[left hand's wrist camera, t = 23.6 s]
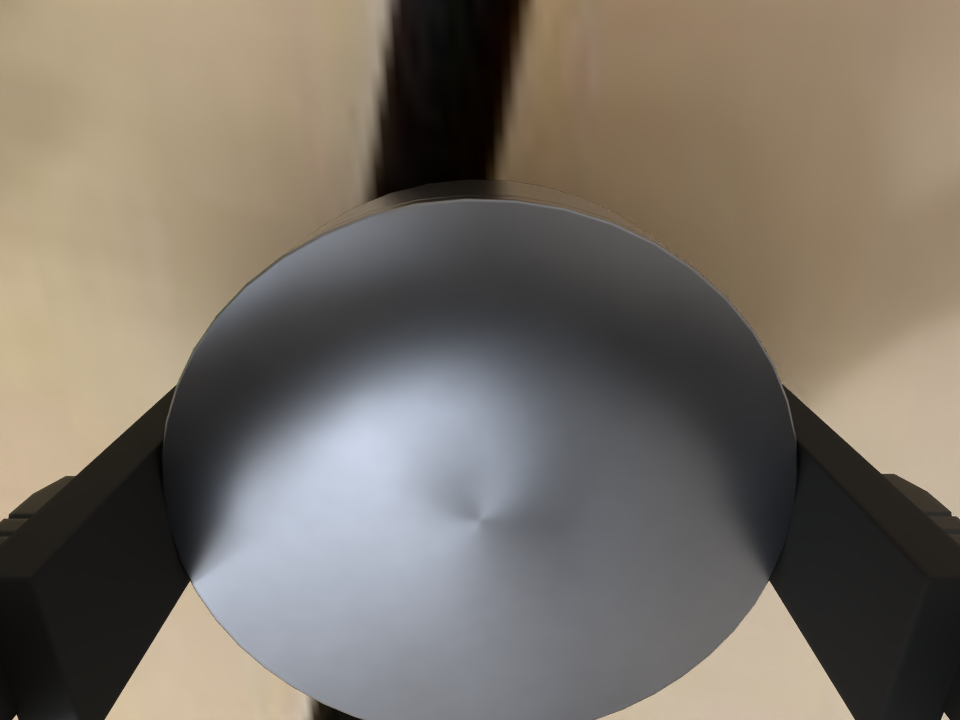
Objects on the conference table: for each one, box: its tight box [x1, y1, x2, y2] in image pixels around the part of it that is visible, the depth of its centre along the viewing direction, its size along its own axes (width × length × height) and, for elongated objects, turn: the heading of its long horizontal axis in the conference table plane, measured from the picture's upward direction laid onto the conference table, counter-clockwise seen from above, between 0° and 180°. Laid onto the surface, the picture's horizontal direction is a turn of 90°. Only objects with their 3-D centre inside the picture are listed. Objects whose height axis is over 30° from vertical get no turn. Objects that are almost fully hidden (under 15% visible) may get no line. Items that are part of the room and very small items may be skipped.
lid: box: [161, 179, 798, 720], centre depth 11 cm, size 10×10×2 cm
